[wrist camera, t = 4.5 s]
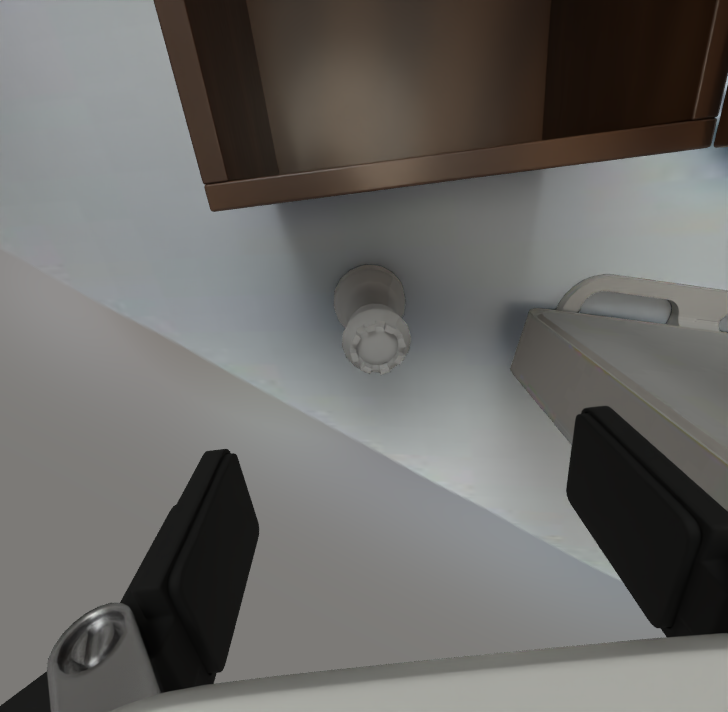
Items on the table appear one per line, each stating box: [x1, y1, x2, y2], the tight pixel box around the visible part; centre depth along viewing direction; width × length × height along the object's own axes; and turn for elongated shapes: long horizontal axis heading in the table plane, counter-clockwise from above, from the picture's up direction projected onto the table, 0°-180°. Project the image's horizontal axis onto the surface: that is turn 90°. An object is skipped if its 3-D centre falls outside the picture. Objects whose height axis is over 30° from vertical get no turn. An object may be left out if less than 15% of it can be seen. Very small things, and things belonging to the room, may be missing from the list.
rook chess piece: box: [334, 265, 411, 375], centre depth 21 cm, size 4×4×8 cm
